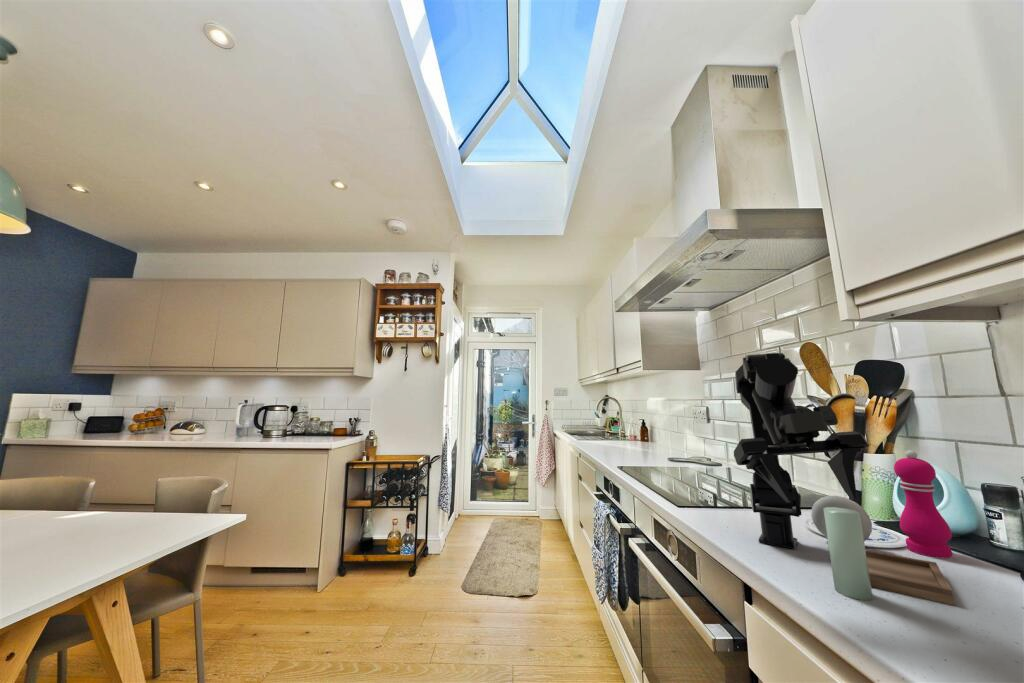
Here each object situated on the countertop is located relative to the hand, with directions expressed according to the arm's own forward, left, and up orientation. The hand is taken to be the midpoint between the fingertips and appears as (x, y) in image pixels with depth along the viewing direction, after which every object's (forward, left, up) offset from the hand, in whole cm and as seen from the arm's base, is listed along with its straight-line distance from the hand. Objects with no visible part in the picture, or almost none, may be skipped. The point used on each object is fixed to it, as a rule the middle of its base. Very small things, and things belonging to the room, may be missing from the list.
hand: (821, 500), depth 59 cm
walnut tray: (-18, +7, -15) cm, 24 cm away
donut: (-33, +1, -15) cm, 36 cm away
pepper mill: (-38, +14, -15) cm, 43 cm away
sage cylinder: (-7, +2, -15) cm, 17 cm away
